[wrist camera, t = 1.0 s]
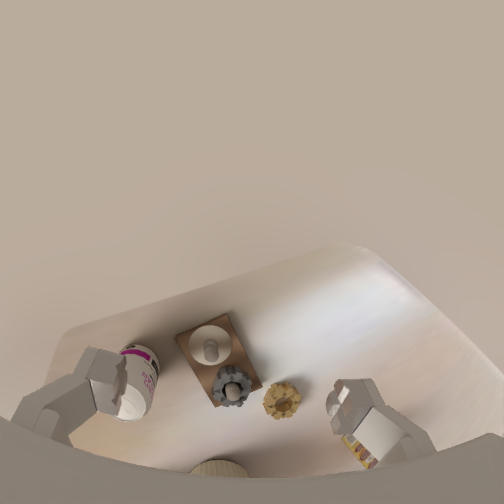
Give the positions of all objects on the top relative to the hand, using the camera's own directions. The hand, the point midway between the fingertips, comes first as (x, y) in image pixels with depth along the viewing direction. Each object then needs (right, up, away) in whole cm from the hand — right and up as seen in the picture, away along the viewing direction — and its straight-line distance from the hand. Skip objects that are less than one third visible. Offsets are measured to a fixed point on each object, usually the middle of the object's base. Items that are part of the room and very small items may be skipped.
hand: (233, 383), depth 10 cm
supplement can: (-20, -16, +40) cm, 48 cm away
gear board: (-5, -15, +43) cm, 46 cm away
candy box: (+26, -40, +50) cm, 69 cm away
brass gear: (+6, -24, +45) cm, 52 cm away
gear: (-3, -19, +42) cm, 46 cm away
